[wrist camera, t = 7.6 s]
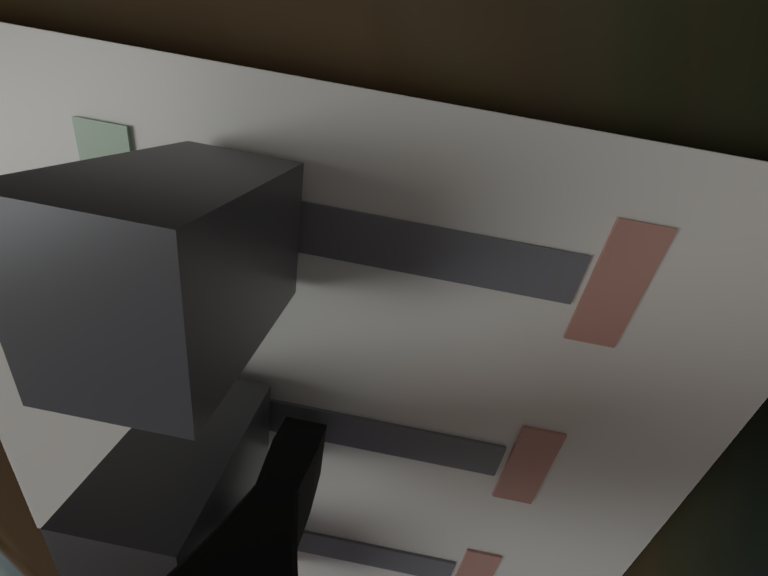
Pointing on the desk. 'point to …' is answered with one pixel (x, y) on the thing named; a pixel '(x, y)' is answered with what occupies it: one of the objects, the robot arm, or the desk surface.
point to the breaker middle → (162, 492)
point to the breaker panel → (443, 308)
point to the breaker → (145, 279)
